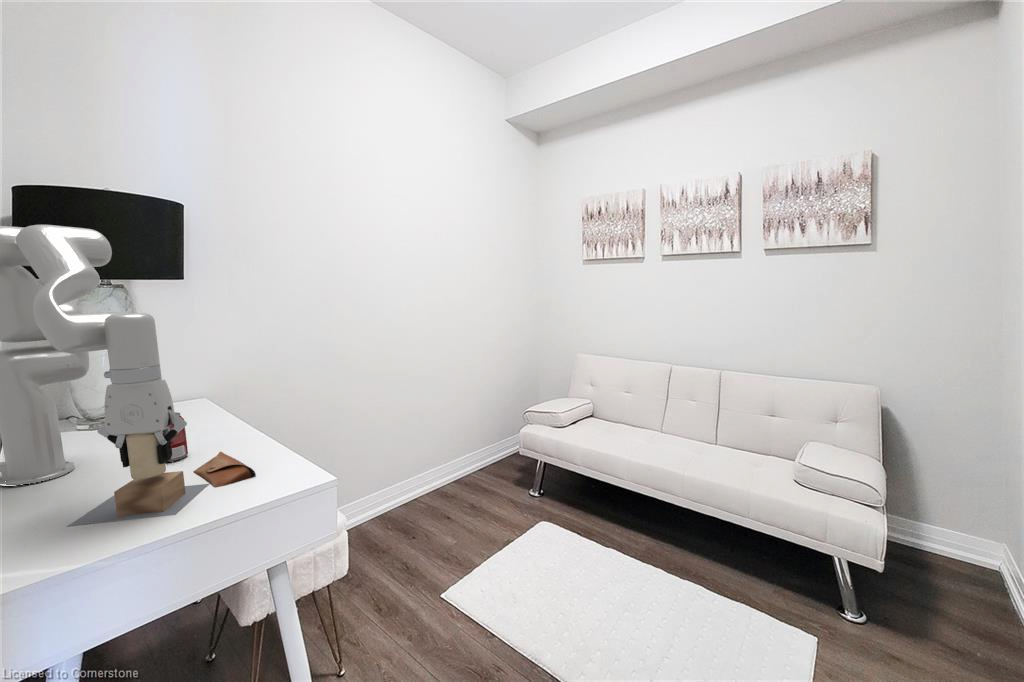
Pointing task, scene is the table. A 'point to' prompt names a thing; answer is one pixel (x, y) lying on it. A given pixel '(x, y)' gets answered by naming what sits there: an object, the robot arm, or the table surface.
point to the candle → (144, 456)
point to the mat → (109, 514)
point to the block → (150, 494)
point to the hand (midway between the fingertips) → (147, 462)
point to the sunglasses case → (224, 471)
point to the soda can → (178, 444)
